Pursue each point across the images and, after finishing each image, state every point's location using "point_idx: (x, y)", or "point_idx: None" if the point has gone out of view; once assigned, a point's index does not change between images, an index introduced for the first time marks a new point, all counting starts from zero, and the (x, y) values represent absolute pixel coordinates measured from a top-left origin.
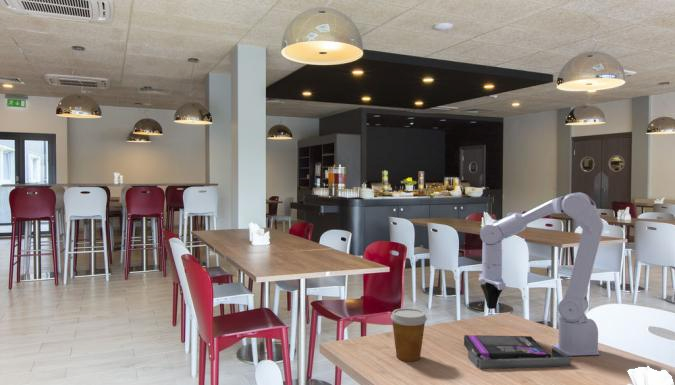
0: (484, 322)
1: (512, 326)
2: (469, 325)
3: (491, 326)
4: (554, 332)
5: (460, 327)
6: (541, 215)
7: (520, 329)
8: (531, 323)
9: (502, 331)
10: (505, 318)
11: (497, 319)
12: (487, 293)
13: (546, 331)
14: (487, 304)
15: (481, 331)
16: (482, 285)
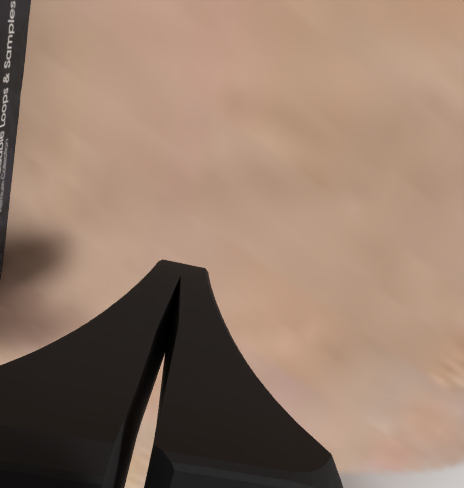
0: (427, 300)
1: (297, 381)
2: (431, 179)
3: (345, 292)
4: None
5: (431, 85)
6: None
7: None
8: None
9: (244, 292)
10: (419, 424)
11: (429, 386)
12: (48, 353)
13: None
14: (182, 278)
15: (290, 179)
16: (208, 484)
